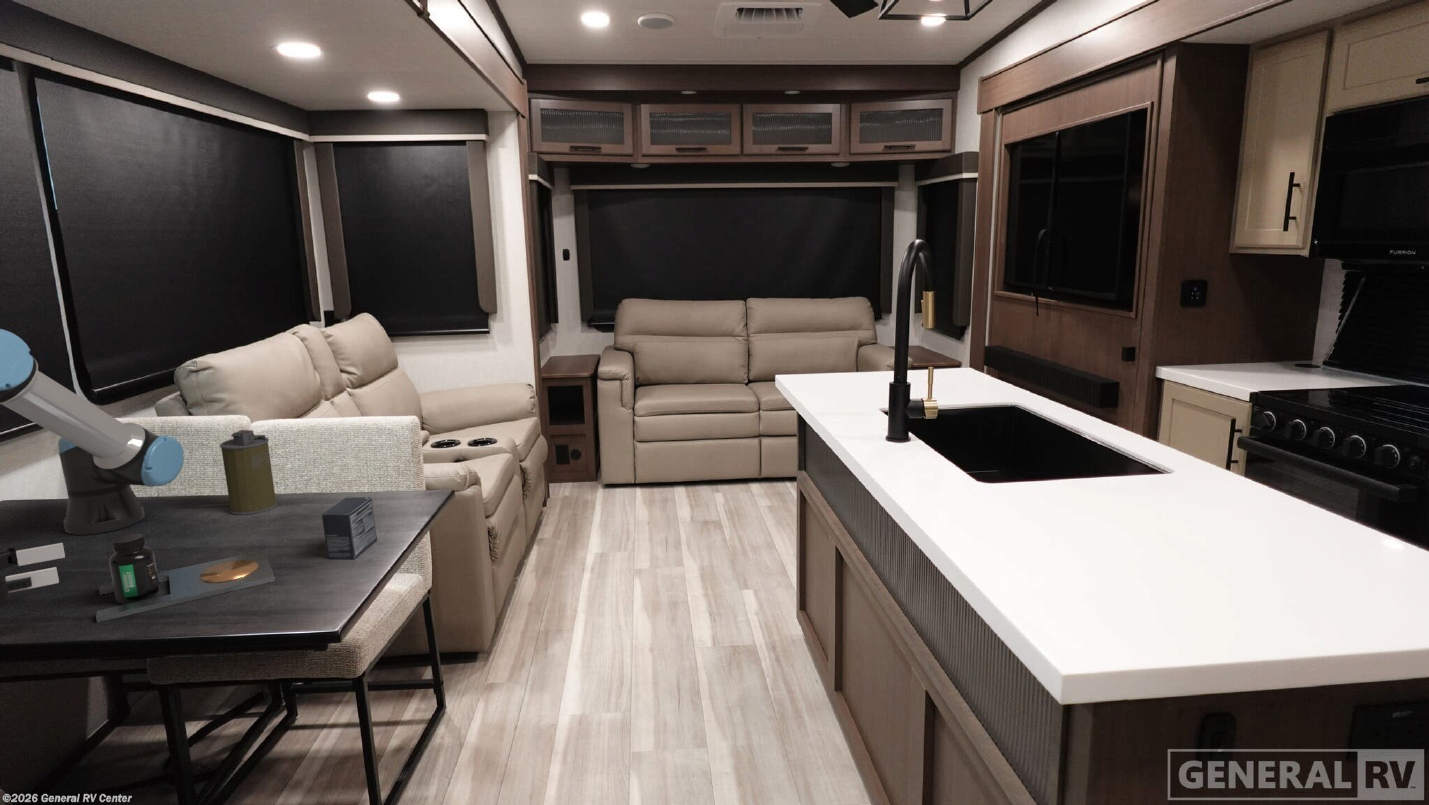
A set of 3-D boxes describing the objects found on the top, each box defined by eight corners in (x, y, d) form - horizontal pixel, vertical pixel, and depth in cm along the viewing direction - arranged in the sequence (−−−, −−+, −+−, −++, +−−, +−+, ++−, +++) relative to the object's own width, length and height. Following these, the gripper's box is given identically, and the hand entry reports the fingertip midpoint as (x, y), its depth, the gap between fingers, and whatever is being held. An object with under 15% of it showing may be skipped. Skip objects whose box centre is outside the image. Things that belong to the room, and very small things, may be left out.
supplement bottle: (137, 606, 142) (126, 546, 140) (107, 603, 144) (95, 543, 141) (169, 590, 149) (159, 532, 146) (140, 587, 150) (130, 529, 148)
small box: (349, 540, 173) (345, 496, 171) (378, 540, 173) (373, 496, 171) (325, 559, 163) (319, 513, 160) (355, 560, 162) (350, 513, 160)
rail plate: (97, 622, 136) (95, 616, 136) (100, 589, 149) (99, 584, 149) (275, 581, 153) (274, 575, 152) (264, 554, 165) (264, 549, 165)
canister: (255, 516, 187) (244, 437, 183) (219, 513, 189) (207, 435, 185) (288, 501, 198) (278, 426, 193) (253, 498, 200) (242, 424, 195)
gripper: (-85, 587, 136) (69, 559, 149) (-123, 645, 117) (58, 607, 129) (-94, 548, 135) (62, 522, 147) (-134, 600, 115) (50, 565, 127)
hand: (61, 562), depth 138 cm, fingers open, 13 cm apart
